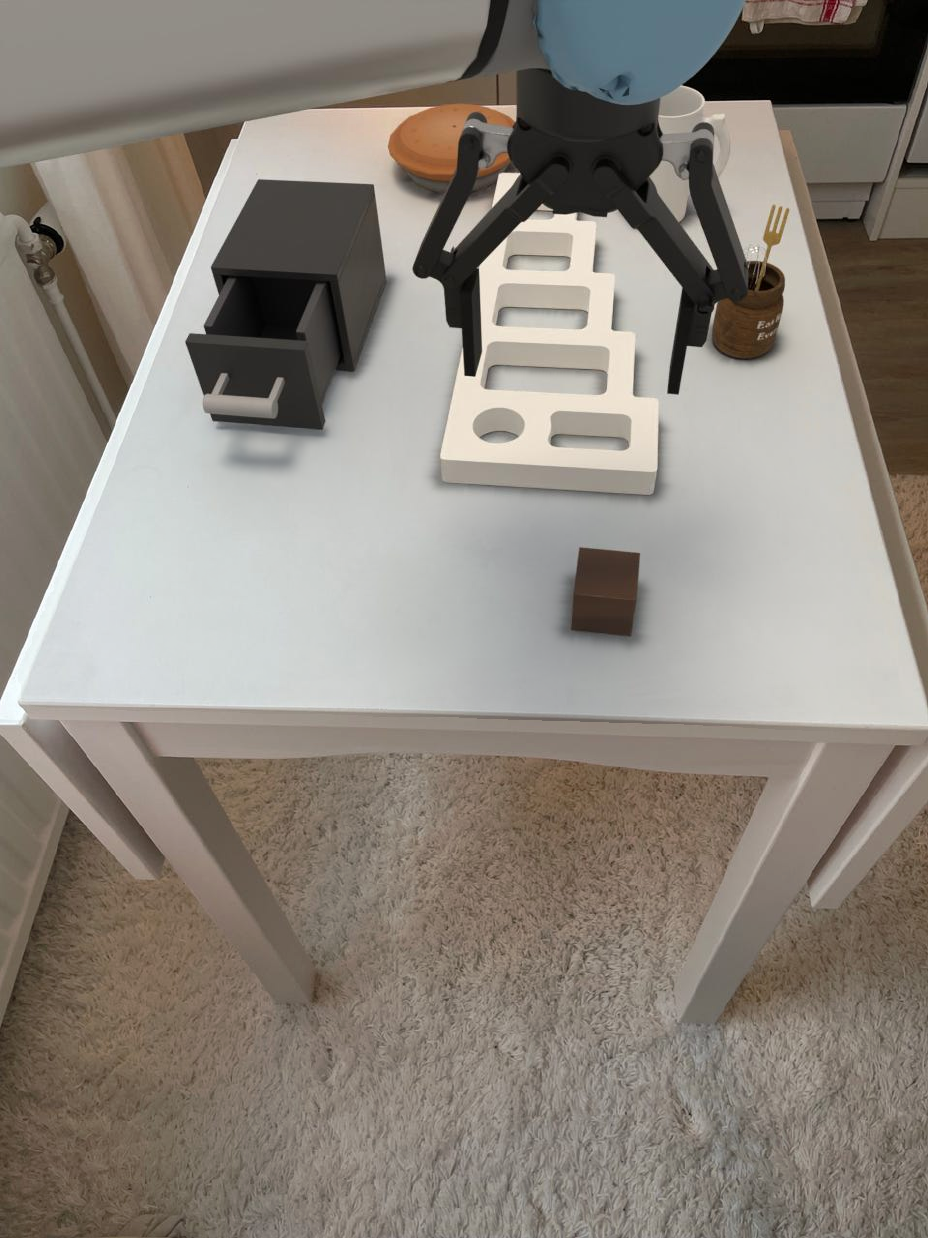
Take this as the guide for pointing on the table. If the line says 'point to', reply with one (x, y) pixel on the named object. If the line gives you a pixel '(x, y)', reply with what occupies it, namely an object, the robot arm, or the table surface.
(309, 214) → the cabinet
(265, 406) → the drawer
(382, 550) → the table surface
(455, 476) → the holder
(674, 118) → the mug
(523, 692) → the table surface
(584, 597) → the block
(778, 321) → the utensil holder
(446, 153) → the pie
